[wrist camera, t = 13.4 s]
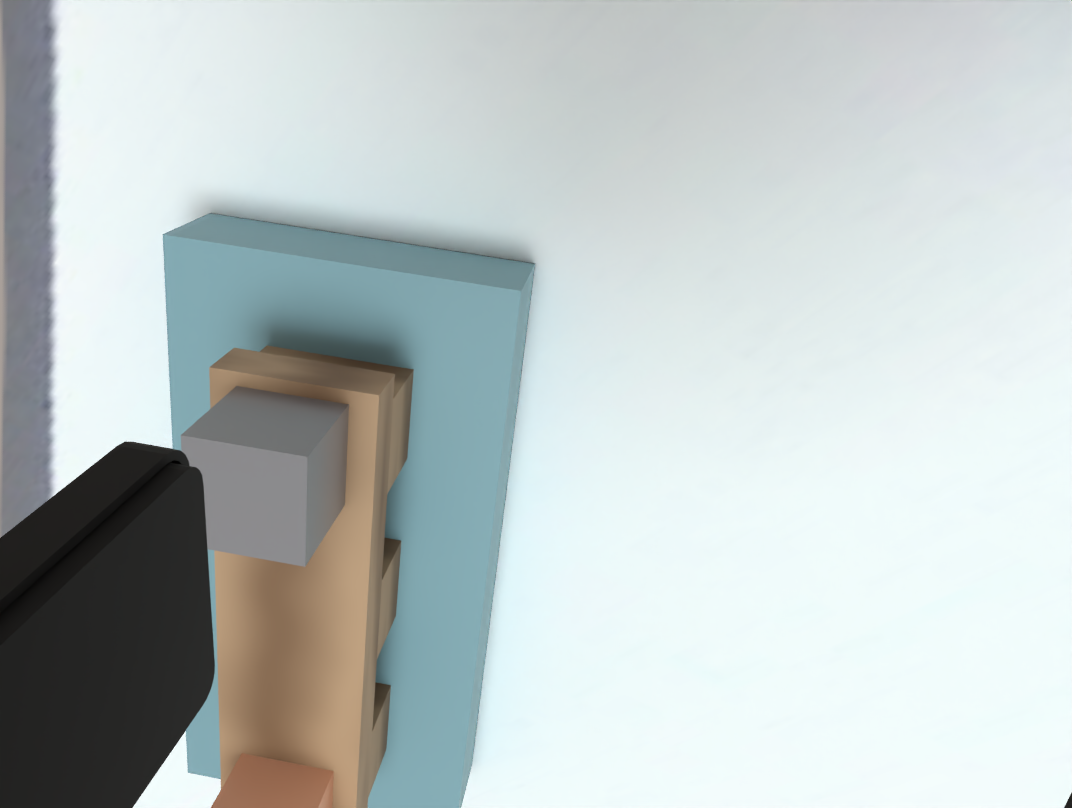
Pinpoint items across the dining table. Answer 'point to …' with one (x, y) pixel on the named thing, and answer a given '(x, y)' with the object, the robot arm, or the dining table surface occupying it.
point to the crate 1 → (270, 472)
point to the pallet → (316, 589)
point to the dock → (433, 450)
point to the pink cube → (275, 785)
